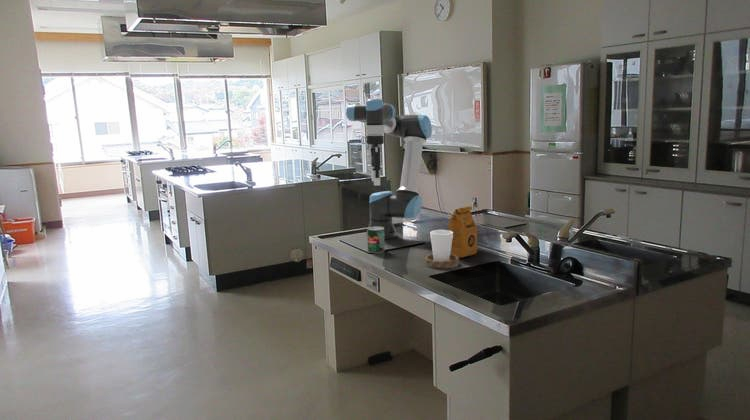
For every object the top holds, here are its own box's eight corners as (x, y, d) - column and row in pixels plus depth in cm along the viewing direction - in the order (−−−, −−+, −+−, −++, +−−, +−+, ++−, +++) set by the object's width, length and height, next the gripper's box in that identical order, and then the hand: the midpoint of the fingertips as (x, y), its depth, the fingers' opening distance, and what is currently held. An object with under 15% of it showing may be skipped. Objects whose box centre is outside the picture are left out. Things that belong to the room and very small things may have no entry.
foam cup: (457, 262, 227) (457, 232, 224) (440, 266, 222) (440, 235, 220) (442, 257, 235) (443, 228, 232) (426, 261, 230) (425, 231, 228)
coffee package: (480, 255, 241) (481, 206, 237) (462, 260, 234) (462, 210, 229) (463, 250, 249) (464, 203, 245) (445, 255, 241) (445, 207, 237)
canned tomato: (385, 249, 254) (385, 226, 252) (383, 253, 247) (383, 230, 245) (369, 248, 256) (368, 226, 254) (366, 253, 248) (365, 229, 246)
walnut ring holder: (422, 259, 235) (422, 253, 234) (454, 258, 236) (454, 252, 235) (428, 269, 221) (428, 262, 221) (461, 268, 222) (461, 261, 222)
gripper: (364, 133, 247) (365, 179, 251) (368, 136, 223) (369, 187, 227) (381, 133, 248) (381, 179, 252) (386, 136, 223) (387, 186, 227)
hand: (375, 183), depth 239 cm, fingers open, 13 cm apart
